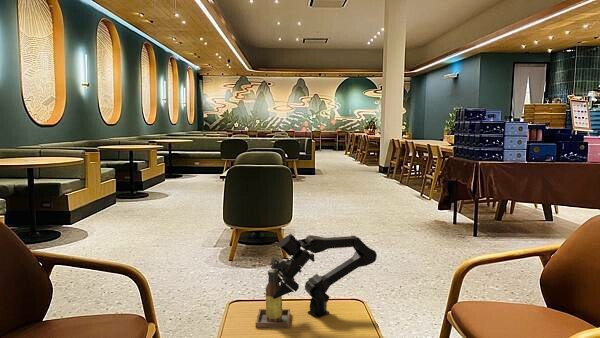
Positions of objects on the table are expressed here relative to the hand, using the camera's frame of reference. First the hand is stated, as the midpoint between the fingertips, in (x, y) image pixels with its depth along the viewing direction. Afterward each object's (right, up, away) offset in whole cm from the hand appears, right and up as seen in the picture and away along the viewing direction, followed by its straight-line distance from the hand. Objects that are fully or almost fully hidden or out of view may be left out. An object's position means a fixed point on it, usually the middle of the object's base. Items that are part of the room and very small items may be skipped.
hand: (269, 293), depth 174 cm
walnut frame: (+1, -11, +2) cm, 11 cm away
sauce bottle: (+2, -11, +2) cm, 11 cm away
